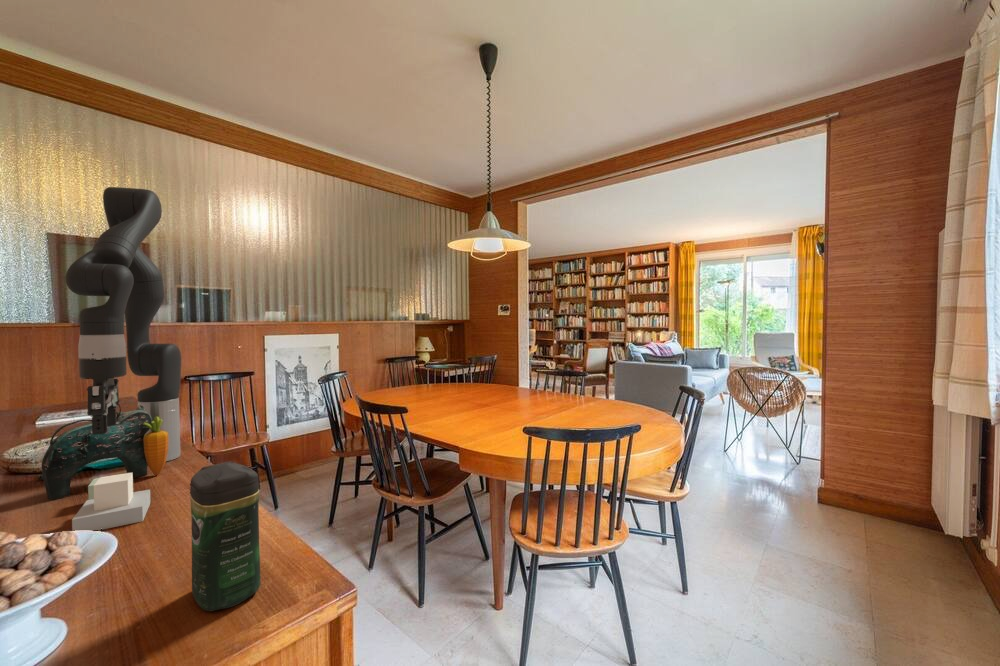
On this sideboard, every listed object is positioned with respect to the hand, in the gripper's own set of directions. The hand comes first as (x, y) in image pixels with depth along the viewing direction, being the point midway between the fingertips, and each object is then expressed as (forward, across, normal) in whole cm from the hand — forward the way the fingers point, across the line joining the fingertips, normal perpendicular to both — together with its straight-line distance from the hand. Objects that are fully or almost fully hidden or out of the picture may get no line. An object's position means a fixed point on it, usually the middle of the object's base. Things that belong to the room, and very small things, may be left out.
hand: (104, 429), depth 92 cm
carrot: (+16, -14, +7) cm, 23 cm away
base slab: (+16, +11, +3) cm, 20 cm away
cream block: (+13, +11, +3) cm, 17 cm away
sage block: (+16, 0, 0) cm, 16 cm away
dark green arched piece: (+16, -13, -3) cm, 21 cm away
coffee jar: (+16, +51, +22) cm, 58 cm away
